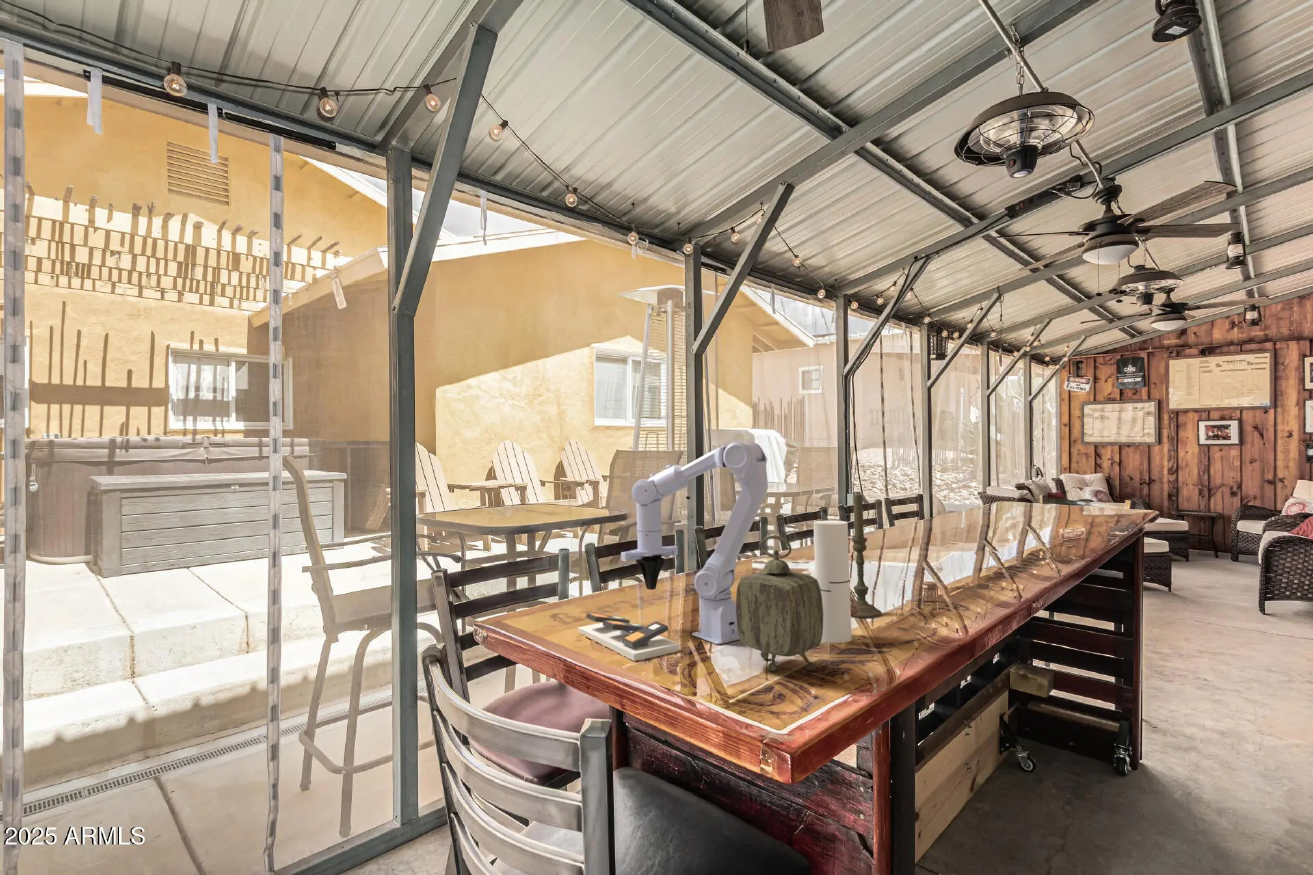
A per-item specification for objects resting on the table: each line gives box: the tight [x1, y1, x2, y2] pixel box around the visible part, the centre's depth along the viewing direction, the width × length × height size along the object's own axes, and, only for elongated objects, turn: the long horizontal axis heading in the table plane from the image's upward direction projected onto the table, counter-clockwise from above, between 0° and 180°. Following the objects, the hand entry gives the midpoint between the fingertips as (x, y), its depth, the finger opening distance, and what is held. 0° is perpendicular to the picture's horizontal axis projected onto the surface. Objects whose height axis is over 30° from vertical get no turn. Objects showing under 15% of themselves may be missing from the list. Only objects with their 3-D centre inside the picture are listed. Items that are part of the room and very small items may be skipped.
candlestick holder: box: [850, 491, 882, 619], centre depth 162 cm, size 9×9×30 cm
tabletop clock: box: [735, 535, 824, 673], centre depth 123 cm, size 14×9×25 cm, turn 43°
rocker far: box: [585, 613, 631, 623], centre depth 150 cm, size 4×9×1 cm, turn 123°
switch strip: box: [577, 622, 680, 662], centre depth 143 cm, size 25×11×2 cm, turn 33°
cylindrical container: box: [813, 520, 852, 644], centre depth 142 cm, size 7×7×25 cm
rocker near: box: [621, 621, 669, 648], centre depth 137 cm, size 4×9×1 cm, turn 123°
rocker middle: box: [602, 621, 646, 631], centre depth 143 cm, size 4×9×1 cm, turn 123°
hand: (651, 588), depth 153 cm, fingers closed
